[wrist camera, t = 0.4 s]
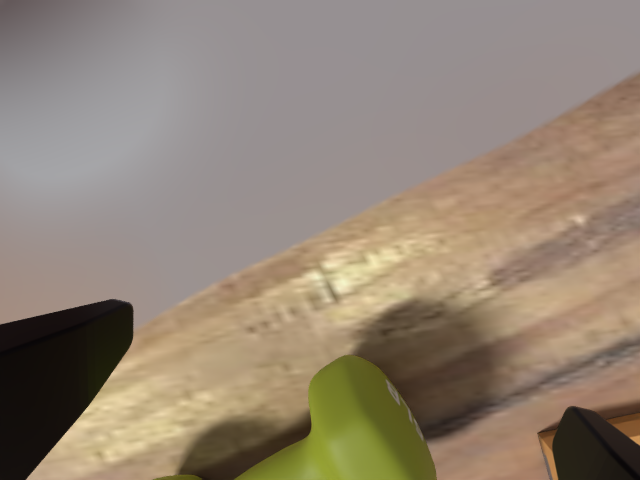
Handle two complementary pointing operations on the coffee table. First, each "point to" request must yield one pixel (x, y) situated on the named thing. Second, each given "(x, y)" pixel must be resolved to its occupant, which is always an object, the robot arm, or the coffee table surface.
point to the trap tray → (631, 425)
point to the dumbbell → (350, 432)
